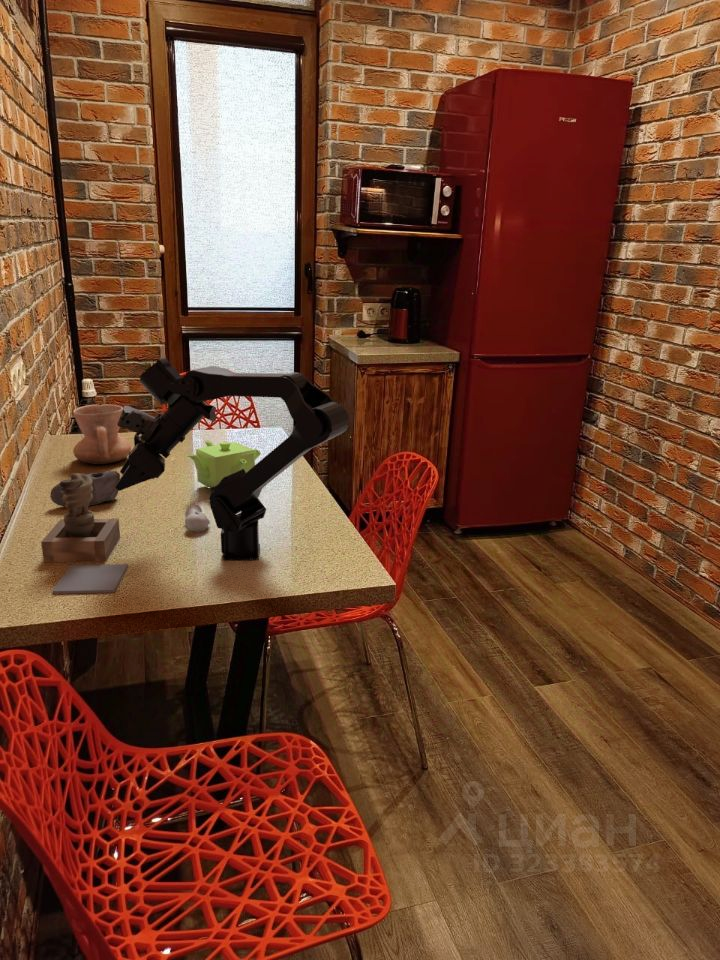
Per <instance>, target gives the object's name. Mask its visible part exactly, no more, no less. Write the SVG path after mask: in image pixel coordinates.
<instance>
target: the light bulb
mask: <svg viewBox="0 0 720 960" xmlns="http://www.w3.org/2000/svg"><path fill="white" fill-rule="evenodd" d="M68 479H69V480H68ZM68 479H62V480H61V481H60V482H59V483H60V486H61V487H62V489H61V493H62V494H64V496H63V498H62V499H63V501H65V502H66V505H65V506H64V507H65V508H66V509H67V510H68V513H65V514H64V515H63V519H64V523H65V529H66V531H67V532H68V533H69V534H70V535H71V536H72V537H73V538H77V537H89V534H90V533H91V531H92V530H93V528H94V519H95V515H94V511H92V510H89V506H90V505H89V503H90V501H91V500H92V497H93V495H92V491H93V487H92V479H91V478H90V477H89V476H88V475H87V474H85V473H78V472H77V473H71V474H70V478H68Z"/></svg>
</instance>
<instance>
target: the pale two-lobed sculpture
mask: <svg viewBox="0 0 720 960" xmlns="http://www.w3.org/2000/svg"><path fill="white" fill-rule="evenodd" d="M184 515H185V519H184V523H185V526H186V528H187V530H188V529H189V530H190V531H192V532H197V533H199V532H202V531H205V530H206V529H207V528H208V527H209V524H211V521H210V519H209V518H208V516H207V515H206V514H205V513H203V510H202V508H201V506H200V505H199V503H198V504H197V503H192V504H190V505H189V506H188V507H187V509H186V510H185V513H184Z"/></svg>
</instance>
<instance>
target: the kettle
mask: <svg viewBox="0 0 720 960" xmlns="http://www.w3.org/2000/svg"><path fill="white" fill-rule="evenodd" d="M204 443H205V445H206V446H204V447H198V448H196V449H195V453H191V454H185V456H186V457H188V458H190V459H191V460H192V461H193V463H194V465H195V469H196V474H197V475H196V476H197V477H196V478H197V482H198V483H199V484H202V485H204V486H205V487H206V486H207V487H210V488H209V489H211V487H213V486H216V485H218V484H219V483H220V481H221V480H222V479H223V478H224V477H225V476H228V475H230V474H232V473H235V472H237V471H239V470H241V469H244V470H245V472H248V471H249V470H250V469H251V468H252V467H254V466H255V465H256V460H257V459H258V457H260V456H261V452H260V450H258V449H257V448H254V449H253V448H250V447H248V446H247V445H246V446H245V445H243V444H241V443H238V442H236V441H232V442H231V441H230V442H229V441H221V442H219V444H215V445H214V444H213V443H212V441H211V440H209V439H204ZM207 487H206V488H207Z"/></svg>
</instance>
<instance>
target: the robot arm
mask: <svg viewBox="0 0 720 960" xmlns="http://www.w3.org/2000/svg"><path fill="white" fill-rule="evenodd" d="M139 382H140V383H139V384H141V385H142V386H143V387H144V389H146V390H147V392H149V394H150V395H151V396H153V398H154V399H155V400H156V401H157V402H158V403H159V404H161V405H166V404H167V405H170V406H168V408H167V409H166V410H165V411H164V412H158V413H157V414H156V416H153V415H151V414H149V413H147V412H144V411H143V410H142V411H141V410H139V409H137V408H134V407H132V406H129V405H124V406H123V407H122V408H123V411H122V413H121V416H120V418H119V421H118V423H117V426H119V427H120V428H121V429H124V430H129V431H131V432H134V433H135V434H134V436H133V443H134V446H133V448H131V451H130V453H129V455H128V456H127V459H126V461H125V462H124V464H123V466H122V467H121V469H120V471H119V474H120V475H121V476H120V480H119V481H118V483H117V484H116V486H115V488H116V489H117V490H119V491H118V492H121V491H123V490H126V489H128V488H131V487H132V486H136V485H138V484H141V483H144V482H146V481H149V480H154V479H158V478H160V476H161V475H163V474H164V472H165V470H166V459H167V458H168V457H169V456H171V452H172V450H174V449H175V447H176V446H177V445H178V444H179V443H180V444H181V443H183V441H185V440H186V436H187V435H188V434H189V433H190V431H191V430H192V429H194V427H195V426H196V425H197V424H198V423H199V422H200V421H202V419H203V418H205V419H207V420H209V421H211V422H216V421H217V414H216V411H217V407H216V406H215V405H211V404H210V405H208V404H207V403H206V402H207V401H212V400H216V399H217V400H218V399H221V398H227V397H243V398H245V397H251V398H280V399H281V400H282V401H283V402H284V403H285V405H286V408H287V411H288V413H289V415H290V416H291V418H292V420H293V421H294V422H295V424H294V427H293V429H292V431H291V433H290V435H288V437H287V438H286V439H284V440H283V441H282V442H281V443H280V444H279V445H277V446H276V447H275V448H274V449H272V450H271V451H270V452H269V453H268V454H267V455H265V456H264V457H263V458H262V459H260V461H258V462H257V463H255V466H254V467H252V468H251V469H250V470H249V471H248V472H245V470H244V469H241V470H239V471H237V472H235V473H232V474H230V475H228V476H225V477H224V478H223V479H222V480H221V481H220V483H219V484H218V485H216V486H213V487H211V488H210V489H211V490H212V491H211V492H210V494H208V495H209V496H208V499H209V502H208V503H209V507H210V510H211V512H212V515H213V519H214V522H215V524H216V527H217V529H221V531H220V549H221V550H220V551H221V553H222V554H223V556H222V557H223V561H231V560H233V561H234V560H237V561H238V560H239V561H240V560H244V561H245V560H258V559H259V557H260V549H261V544H260V542H259V541H260V539H259V538H260V537H259V536H260V535H259V521H260V520H262V519H264V518H265V515H266V512H267V508H266V507H265V506H264V504H263V503H262V501H261V500H260V499H259V497H260V495H261V492H262V489H264V487H266V486H267V485H268V484H269V483H270V482H273V480H274V479H276V478H277V477H278V476H279V475H280V474H282V473H283V472H284V471H285V470H286V469H288V468H289V467H291V466H292V465H293V464H294V463H295V462H297V461H298V460H299V459H301V458H302V457H303V456H304V455H305V454H307V453H308V452H309V451H310V450H312V449H314V448H315V447H317V446H320V445H321V444H323V443H326V442H328V441H329V440H332V439H334V438H335V437H337V436H340V435H341V434H343V433H345V432H346V431H347V430H348V428H349V426H350V425H349V423H350V421H349V419H350V418H349V415H348V412H347V410H346V408H345V407H344V406H343V405H342V404H341V403H338V402H336V401H335V399H334V398H332V397H331V395H330V394H328V392H325V391H324V390H323V389H322V388H319V387H317V385H315V384H313V383H312V382H311V381H310V380H309V379H308V378H307V377H306V376H305V375H304V374H303V373H301V372H296V371H295V372H291V373H267V372H266V373H263V372H262V373H260V372H259V373H257V372H256V373H255V372H253V373H250V372H248V373H247V372H243V373H242V372H241V373H240V372H235V371H232V370H230V369H229V368H224V367H219V366H216V365H211V366H206V367H201V368H196V369H192V370H187V371H186V372H185V374H184V376H182V375H181V374H180V373H179V371H177V369H176V368H174V366H173V365H172V364H171V362H170V361H169V360H168V359H167V358H166V357H164V358H160V359H158V358H157V360H156V362H155V363H154V364H152V365H150V366H149V367H148V368H146V369H145V371H143V372H142V373H141V375H140V377H139ZM311 407H312V408H311Z"/></svg>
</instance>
